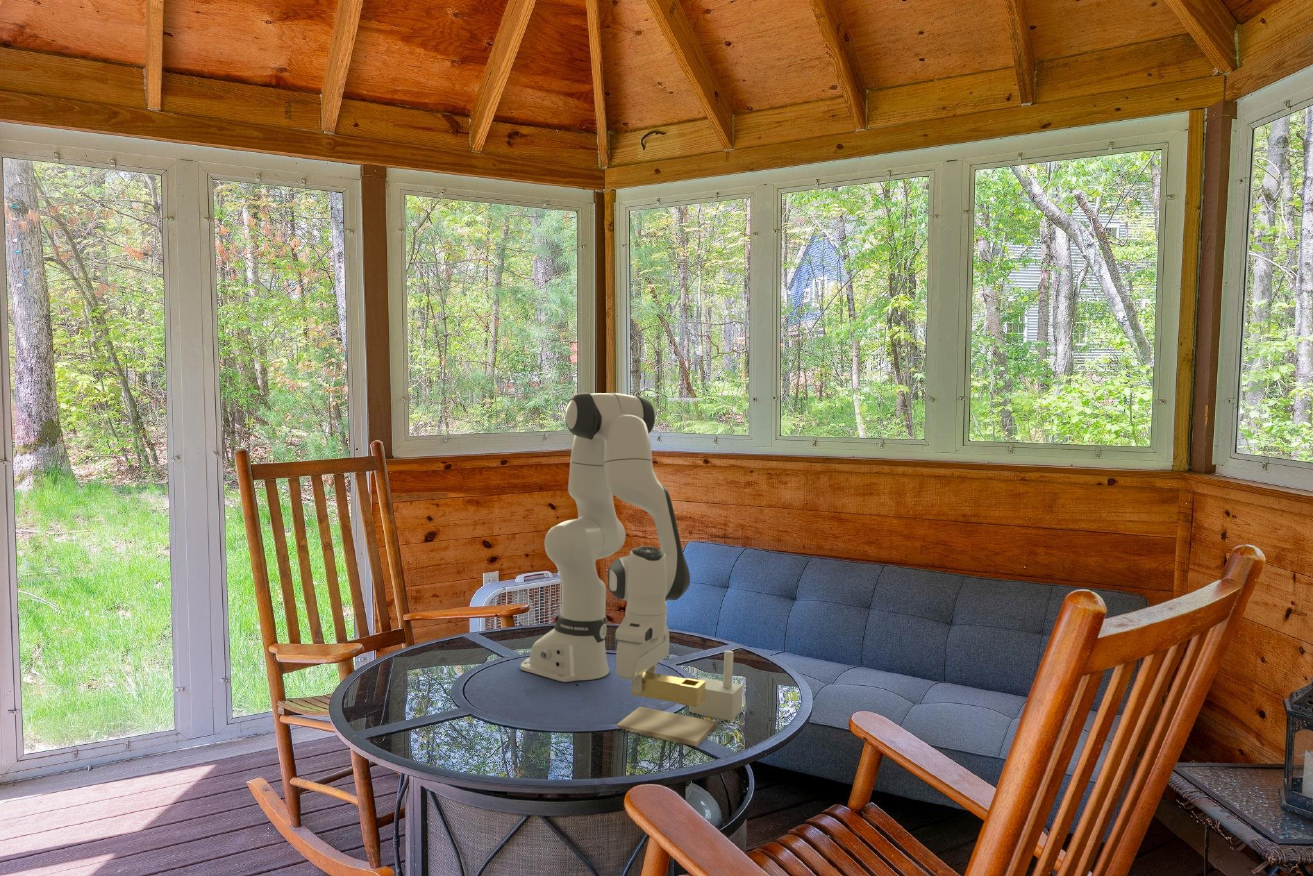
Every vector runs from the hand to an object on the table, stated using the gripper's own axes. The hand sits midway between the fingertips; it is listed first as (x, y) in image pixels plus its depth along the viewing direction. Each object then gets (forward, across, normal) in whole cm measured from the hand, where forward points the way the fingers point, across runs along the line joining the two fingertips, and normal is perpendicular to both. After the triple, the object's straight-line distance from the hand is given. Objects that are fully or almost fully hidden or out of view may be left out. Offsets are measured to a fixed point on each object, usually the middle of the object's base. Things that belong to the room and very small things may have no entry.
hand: (643, 688), depth 182 cm
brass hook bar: (+1, 0, +6) cm, 6 cm away
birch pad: (+8, 0, +6) cm, 10 cm away
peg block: (+8, -14, +12) cm, 20 cm away
